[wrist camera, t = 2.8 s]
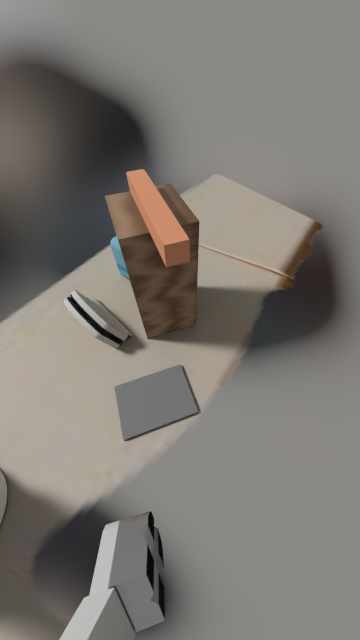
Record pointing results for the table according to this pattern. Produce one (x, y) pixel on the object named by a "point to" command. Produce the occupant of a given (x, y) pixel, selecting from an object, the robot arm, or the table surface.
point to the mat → (154, 401)
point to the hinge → (96, 319)
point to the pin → (159, 219)
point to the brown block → (157, 264)
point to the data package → (119, 257)
